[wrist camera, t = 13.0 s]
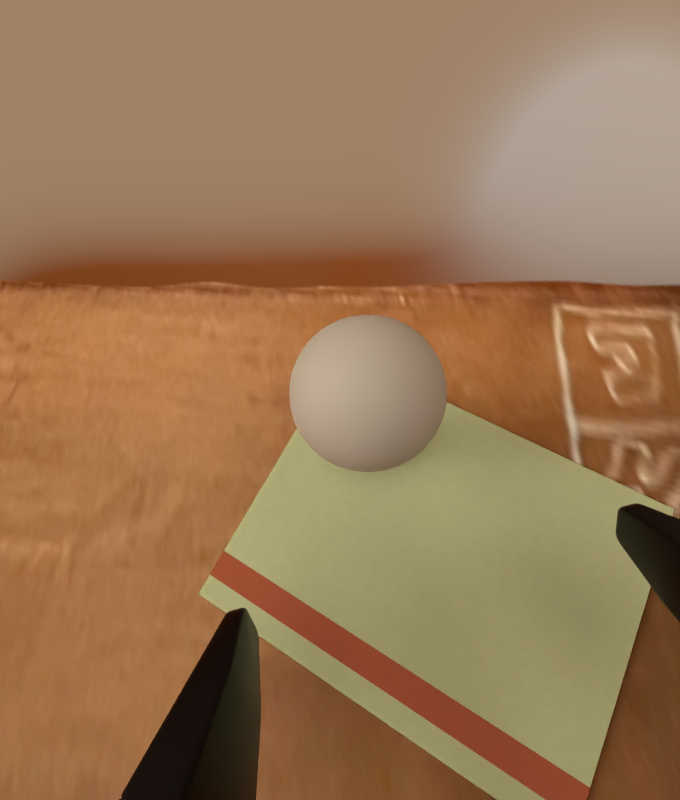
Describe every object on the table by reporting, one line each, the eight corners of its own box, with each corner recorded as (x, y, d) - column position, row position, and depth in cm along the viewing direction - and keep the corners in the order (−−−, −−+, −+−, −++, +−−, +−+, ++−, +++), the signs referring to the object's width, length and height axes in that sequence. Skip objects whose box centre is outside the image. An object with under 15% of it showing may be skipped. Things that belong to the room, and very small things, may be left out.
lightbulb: (400, 508, 22) (426, 487, 11) (300, 467, 23) (240, 413, 12) (435, 410, 23) (486, 311, 13) (340, 376, 24) (317, 261, 14)
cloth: (670, 509, 21) (675, 509, 21) (567, 846, 17) (571, 851, 17) (342, 354, 25) (341, 352, 25) (200, 593, 21) (197, 594, 21)
